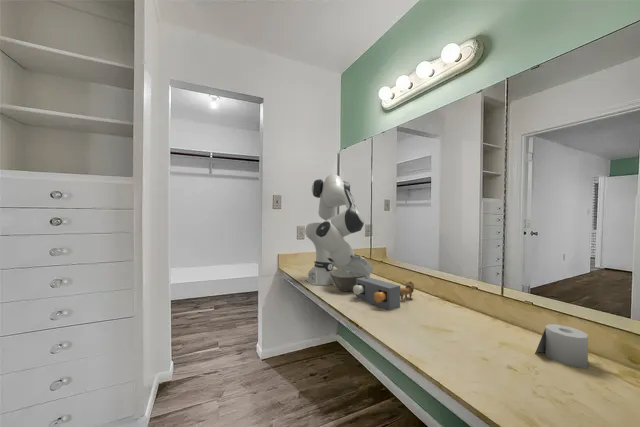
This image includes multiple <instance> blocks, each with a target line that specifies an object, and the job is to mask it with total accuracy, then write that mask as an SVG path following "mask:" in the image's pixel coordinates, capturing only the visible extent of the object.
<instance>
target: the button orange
mask: <svg viewBox="0 0 640 427" xmlns="http://www.w3.org/2000/svg"><path fill="white" fill-rule="evenodd" d="M386 299H387V293H386V292H384V291H382V292H375V293H374V300H375V301H376V302H377V303H380V302H382V301H384V300H386Z"/></svg>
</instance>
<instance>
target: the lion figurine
mask: <svg viewBox="0 0 640 427" xmlns="http://www.w3.org/2000/svg"><path fill="white" fill-rule="evenodd" d="M414 289H415V284H414V283H413V281H411V280H408V281H406V283H405V287H400V301H401V302H402V303H405V302H406V300H407V299H408V298H409V301H413V299H412V296H413V292H414ZM408 295H409V297H408ZM404 299H405V300H404Z"/></svg>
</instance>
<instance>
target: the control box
mask: <svg viewBox="0 0 640 427" xmlns="http://www.w3.org/2000/svg"><path fill="white" fill-rule="evenodd" d="M356 285H364V286H365V292H364V293H360V294H359V295H356V294H355V298H356V299H358V300H361V301H364V302H367V303H370V304H372V305H374V306H377V307H380V308H381V309H385V310H387V311H391V310H395V309H398V308H400V307H401V296H400V288H401V285H398V284H396V283H392V282H388V281H385V280H380V279H377V278H373V277H370V278H369V279H366V278H365V277H362V278H357V279H356ZM382 291H384V292H386V293H387V299H386V300H384V301H382V302H380V303H377V302H376V301H375V300H374V293H375V292H382Z"/></svg>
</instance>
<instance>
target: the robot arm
mask: <svg viewBox="0 0 640 427" xmlns="http://www.w3.org/2000/svg"><path fill="white" fill-rule="evenodd" d="M311 193H312V196H313V197H314V198H318V199H319V204H318V216H319V218H321V219H322V220H324V221H323V222H311V223H308V224H307V225H306V227H305V228H304V229H305V230H304V232H305V235H306V236H305V237H307V239H308V240H310V241H311V242H312V244H313V246H314V247H315V248H314V249H315V256H316V257H315V259H316V260H314V261H313V264H314V266H312V268H311V269H309V271H308V273H307V277H305V278H304V281H306V280H307V281H308V283H309V282H310V283H311V285H312V284H313V285H312V286H331V285H330V284H333V285H335V284H334V281H333V279H332V277H331V275H330V273H329V271H331V270H334V269H341V270H344V271H346V272H347V273H348V274H349V275H353V274H354V272H356V273H360V274H364V277H365V278H366V279H369V278H371V274H372V273H373V270H374V266H373V265H372V264H371V263H370V262H369V260H367V259H366V258H365V257H363V256H359V255H356V254H355V250H354V249H353V248H352V246H351V245H350V244H349V243H348V241H346V240H345V238H344V237H346V236H349V235H351V234H355V233H358V232H360V231H362V229H363V227H364V224H365V222H364V218H363V215H362V214H361V212H360V211H359V208H358V205H357V203H356V201H355V198H354V197H353V195H352V188H351V184H350V183H349V182H348V181H345V180H342V178H341V176H339V175H337V174H329V175H327V176H326V178H325V179H320V178H319V179H316V180H314V181H313V183H312V185H311ZM341 206H345V207H346V209H345V210H344V211H342V212H340V213H338V214H337V208H338V207H341ZM307 281H306V282H307ZM310 283H309V284H310Z"/></svg>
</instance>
